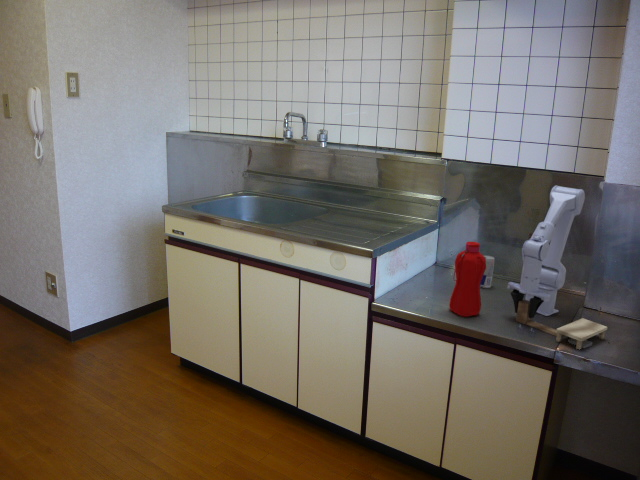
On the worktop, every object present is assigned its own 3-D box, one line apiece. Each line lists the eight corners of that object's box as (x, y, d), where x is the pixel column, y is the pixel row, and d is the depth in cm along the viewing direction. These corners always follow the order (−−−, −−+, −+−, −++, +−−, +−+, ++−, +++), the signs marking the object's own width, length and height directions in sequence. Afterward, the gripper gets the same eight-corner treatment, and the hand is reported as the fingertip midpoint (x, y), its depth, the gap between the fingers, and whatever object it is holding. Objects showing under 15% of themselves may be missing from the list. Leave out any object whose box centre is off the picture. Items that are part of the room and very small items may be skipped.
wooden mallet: (515, 320, 183) (518, 301, 182) (521, 318, 186) (524, 299, 184) (557, 337, 172) (560, 316, 170) (562, 334, 174) (566, 314, 173)
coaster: (567, 343, 169) (568, 339, 169) (576, 340, 172) (577, 336, 172) (582, 350, 165) (583, 346, 165) (591, 346, 168) (592, 342, 168)
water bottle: (441, 309, 190) (449, 240, 183) (466, 305, 194) (475, 238, 188) (457, 319, 182) (466, 247, 175) (483, 315, 186) (493, 245, 180)
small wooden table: (554, 340, 170) (556, 328, 169) (580, 329, 179) (582, 318, 178) (579, 350, 164) (581, 338, 162) (605, 338, 173) (607, 326, 172)
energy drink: (476, 283, 219) (479, 254, 216) (489, 284, 218) (493, 255, 215) (477, 287, 214) (481, 258, 211) (491, 289, 213) (496, 259, 210)
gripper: (504, 271, 182) (498, 309, 186) (544, 285, 171) (537, 325, 175) (516, 268, 186) (510, 305, 190) (556, 281, 175) (549, 320, 179)
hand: (524, 314), depth 183 cm, fingers open, 5 cm apart
